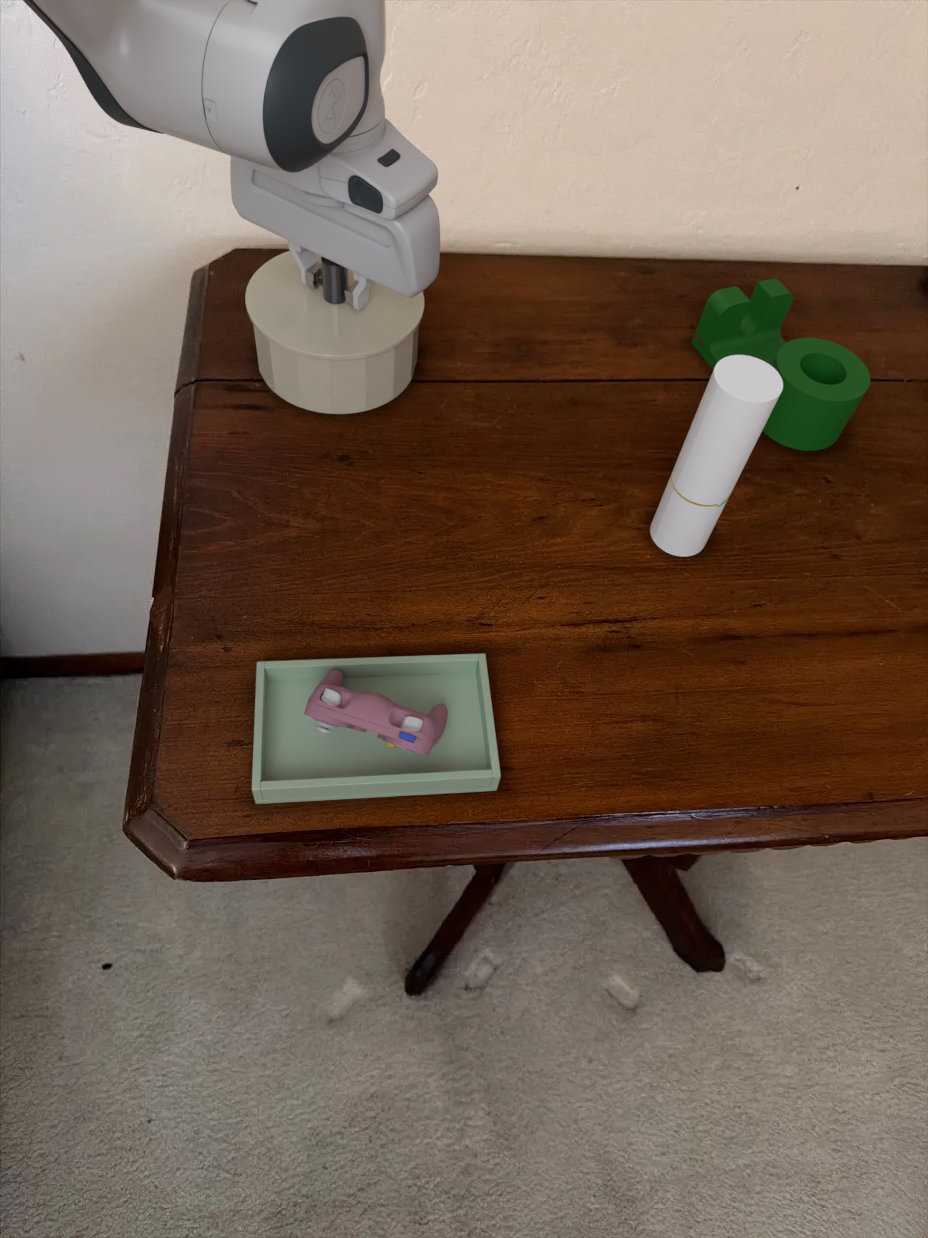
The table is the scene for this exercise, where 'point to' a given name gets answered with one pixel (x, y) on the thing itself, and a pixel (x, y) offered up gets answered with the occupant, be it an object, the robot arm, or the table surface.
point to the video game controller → (375, 715)
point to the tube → (715, 452)
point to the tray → (360, 761)
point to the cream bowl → (337, 377)
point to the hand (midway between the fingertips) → (335, 294)
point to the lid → (327, 312)
